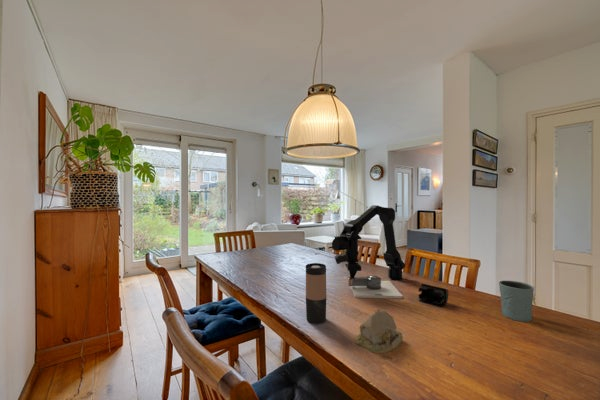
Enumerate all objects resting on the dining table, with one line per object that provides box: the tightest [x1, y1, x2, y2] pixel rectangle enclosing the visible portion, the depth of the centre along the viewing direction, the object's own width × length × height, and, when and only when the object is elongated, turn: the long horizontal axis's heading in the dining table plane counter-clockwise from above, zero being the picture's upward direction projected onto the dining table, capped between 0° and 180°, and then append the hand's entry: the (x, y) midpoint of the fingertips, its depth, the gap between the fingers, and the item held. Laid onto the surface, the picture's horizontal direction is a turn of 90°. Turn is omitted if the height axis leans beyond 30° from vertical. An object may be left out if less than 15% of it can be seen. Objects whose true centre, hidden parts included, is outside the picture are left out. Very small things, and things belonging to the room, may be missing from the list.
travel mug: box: [305, 262, 327, 325], centre depth 96 cm, size 8×8×20 cm
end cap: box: [418, 283, 449, 309], centre depth 111 cm, size 10×7×7 cm
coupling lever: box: [347, 274, 382, 290], centre depth 126 cm, size 16×7×5 cm, turn 91°
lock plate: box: [350, 280, 404, 299], centre depth 126 cm, size 21×21×1 cm
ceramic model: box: [354, 309, 403, 354], centre depth 81 cm, size 14×11×10 cm
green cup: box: [498, 280, 535, 323], centre depth 97 cm, size 10×10×12 cm
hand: (351, 279), depth 128 cm, fingers closed
